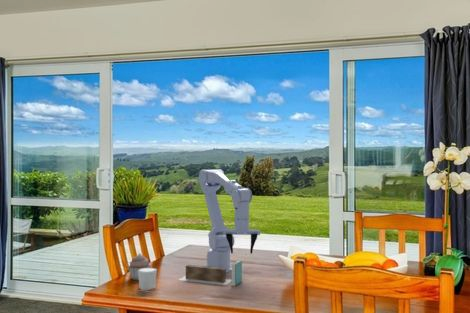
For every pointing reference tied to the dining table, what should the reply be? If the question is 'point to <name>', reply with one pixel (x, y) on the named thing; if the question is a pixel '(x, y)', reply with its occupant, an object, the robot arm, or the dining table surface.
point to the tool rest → (206, 281)
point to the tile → (236, 273)
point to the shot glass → (147, 278)
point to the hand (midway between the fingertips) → (241, 252)
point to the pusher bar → (206, 273)
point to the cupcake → (138, 265)
